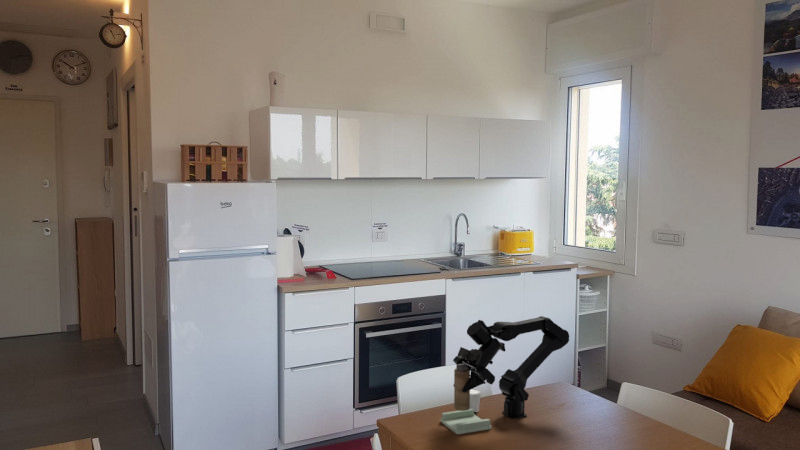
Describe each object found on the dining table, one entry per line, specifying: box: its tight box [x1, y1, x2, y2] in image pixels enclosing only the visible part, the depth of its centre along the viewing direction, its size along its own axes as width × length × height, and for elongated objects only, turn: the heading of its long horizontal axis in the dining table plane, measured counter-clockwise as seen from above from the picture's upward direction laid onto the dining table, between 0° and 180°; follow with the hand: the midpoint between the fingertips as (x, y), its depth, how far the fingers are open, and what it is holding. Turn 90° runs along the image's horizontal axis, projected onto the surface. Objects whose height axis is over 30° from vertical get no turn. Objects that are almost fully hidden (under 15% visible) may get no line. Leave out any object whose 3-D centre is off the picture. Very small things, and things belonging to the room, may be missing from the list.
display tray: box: [439, 409, 493, 435], centre depth 207 cm, size 13×12×3 cm
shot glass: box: [470, 388, 482, 413], centre depth 222 cm, size 7×7×7 cm
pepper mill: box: [453, 364, 471, 411], centre depth 207 cm, size 5×5×15 cm
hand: (458, 389), depth 207 cm, fingers closed on pepper mill, 5 cm apart
